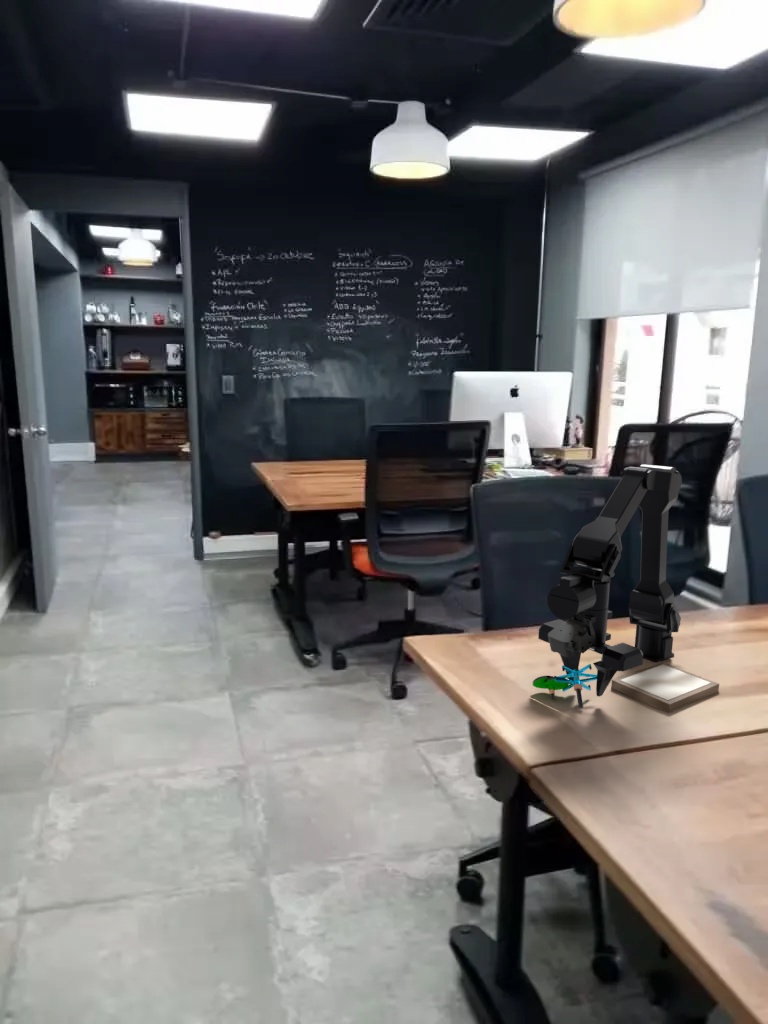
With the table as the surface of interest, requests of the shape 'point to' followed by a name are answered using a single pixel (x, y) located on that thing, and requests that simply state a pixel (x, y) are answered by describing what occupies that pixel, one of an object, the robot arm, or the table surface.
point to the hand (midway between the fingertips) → (585, 689)
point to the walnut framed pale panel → (665, 686)
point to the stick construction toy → (566, 682)
